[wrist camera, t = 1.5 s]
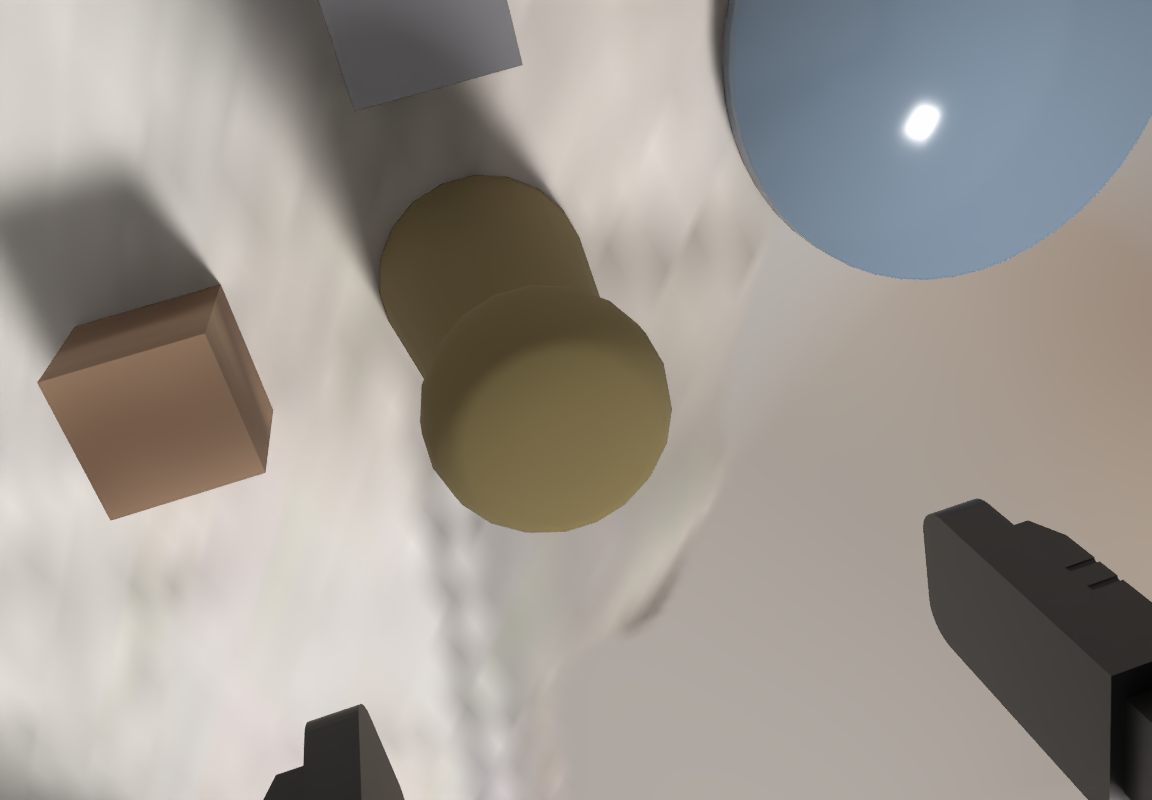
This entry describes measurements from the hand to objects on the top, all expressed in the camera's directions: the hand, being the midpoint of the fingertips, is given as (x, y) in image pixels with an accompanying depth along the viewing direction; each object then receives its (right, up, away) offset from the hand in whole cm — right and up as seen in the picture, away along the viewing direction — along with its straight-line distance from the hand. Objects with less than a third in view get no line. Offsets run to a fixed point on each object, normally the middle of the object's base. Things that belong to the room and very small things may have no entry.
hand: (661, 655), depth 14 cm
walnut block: (-12, +4, +15) cm, 20 cm away
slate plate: (+10, +14, +16) cm, 23 cm away
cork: (-4, +7, +16) cm, 18 cm away
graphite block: (-6, +14, +12) cm, 19 cm away
